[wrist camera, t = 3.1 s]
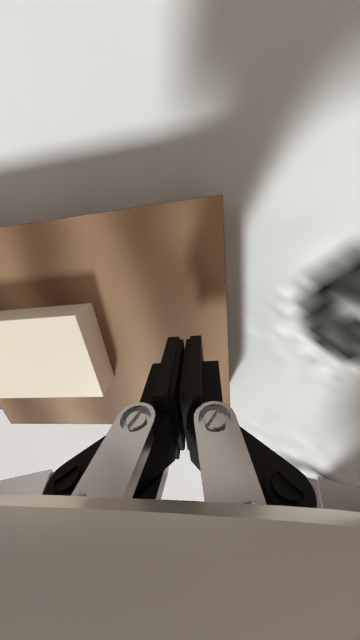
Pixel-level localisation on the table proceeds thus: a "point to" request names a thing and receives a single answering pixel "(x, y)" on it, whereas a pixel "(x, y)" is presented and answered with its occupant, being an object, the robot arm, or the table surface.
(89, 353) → the cream flat block
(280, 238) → the table surface
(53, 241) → the platform
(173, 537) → the robot arm
